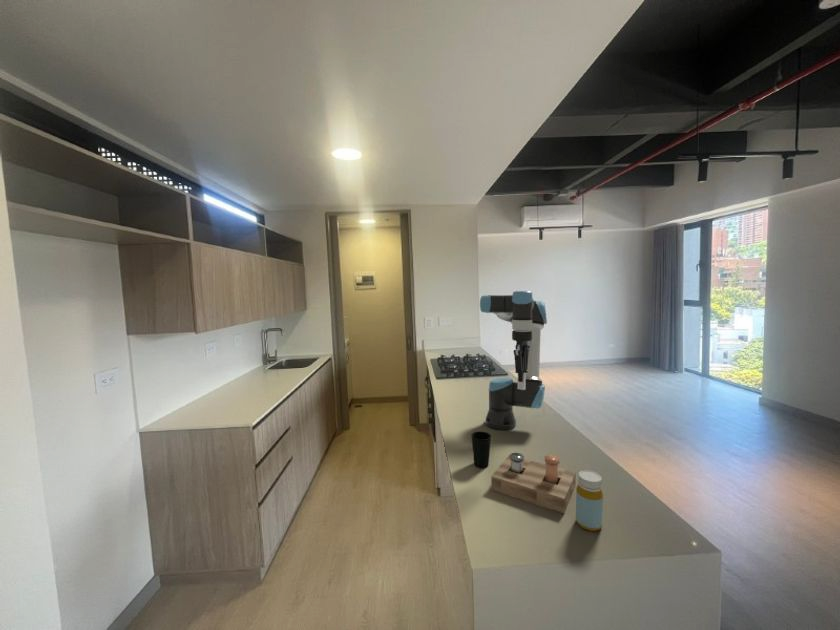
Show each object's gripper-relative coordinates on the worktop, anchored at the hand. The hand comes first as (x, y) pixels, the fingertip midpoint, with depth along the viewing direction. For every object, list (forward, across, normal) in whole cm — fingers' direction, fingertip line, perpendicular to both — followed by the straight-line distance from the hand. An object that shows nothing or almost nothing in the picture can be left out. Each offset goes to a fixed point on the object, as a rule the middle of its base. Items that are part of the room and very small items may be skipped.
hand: (521, 388), depth 140 cm
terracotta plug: (+26, +17, +16) cm, 35 cm away
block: (+29, +17, +10) cm, 35 cm away
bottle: (+30, +27, +29) cm, 49 cm away
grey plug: (+28, +17, +4) cm, 33 cm away
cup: (+30, +12, -12) cm, 34 cm away
